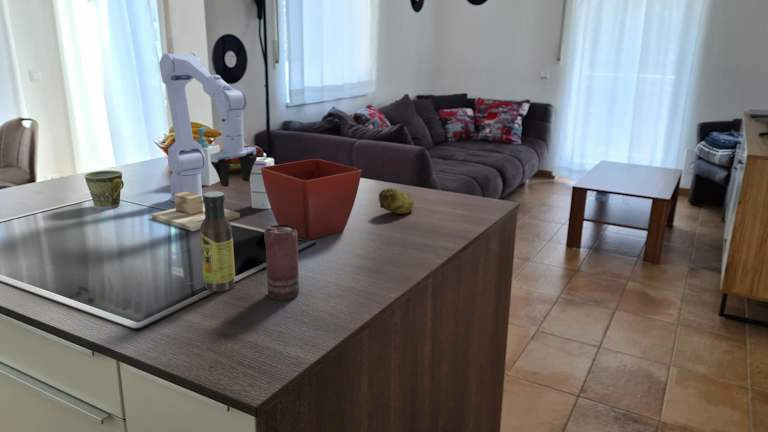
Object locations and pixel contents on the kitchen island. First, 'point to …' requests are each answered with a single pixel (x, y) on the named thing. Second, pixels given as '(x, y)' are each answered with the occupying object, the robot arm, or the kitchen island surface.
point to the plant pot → (311, 195)
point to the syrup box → (259, 183)
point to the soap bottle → (207, 159)
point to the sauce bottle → (216, 245)
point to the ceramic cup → (105, 188)
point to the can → (282, 262)
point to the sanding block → (188, 203)
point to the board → (188, 218)
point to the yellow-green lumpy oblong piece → (395, 201)
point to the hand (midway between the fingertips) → (235, 183)
